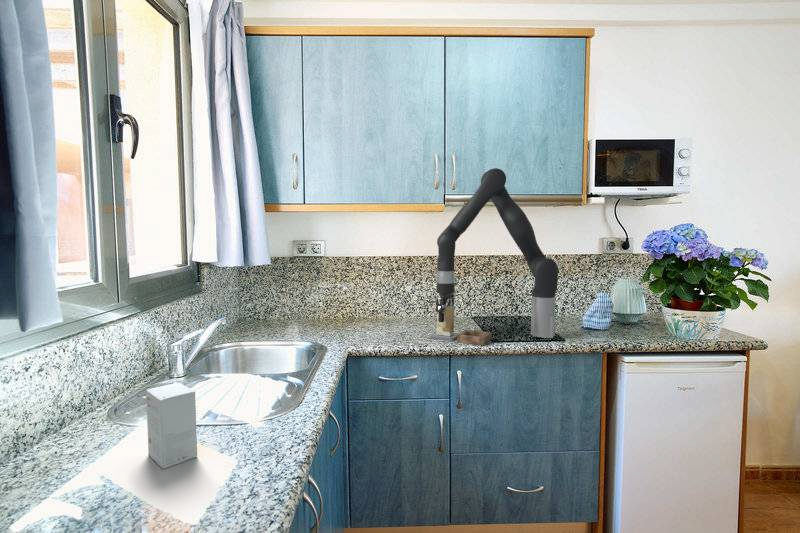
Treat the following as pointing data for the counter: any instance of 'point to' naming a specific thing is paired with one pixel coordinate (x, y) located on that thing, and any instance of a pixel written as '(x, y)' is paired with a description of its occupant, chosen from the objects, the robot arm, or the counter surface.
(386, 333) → the counter surface
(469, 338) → the walnut holder
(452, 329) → the skincare box
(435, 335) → the grey flat plate
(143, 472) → the counter surface
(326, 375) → the counter surface
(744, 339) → the counter surface
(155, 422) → the small box
